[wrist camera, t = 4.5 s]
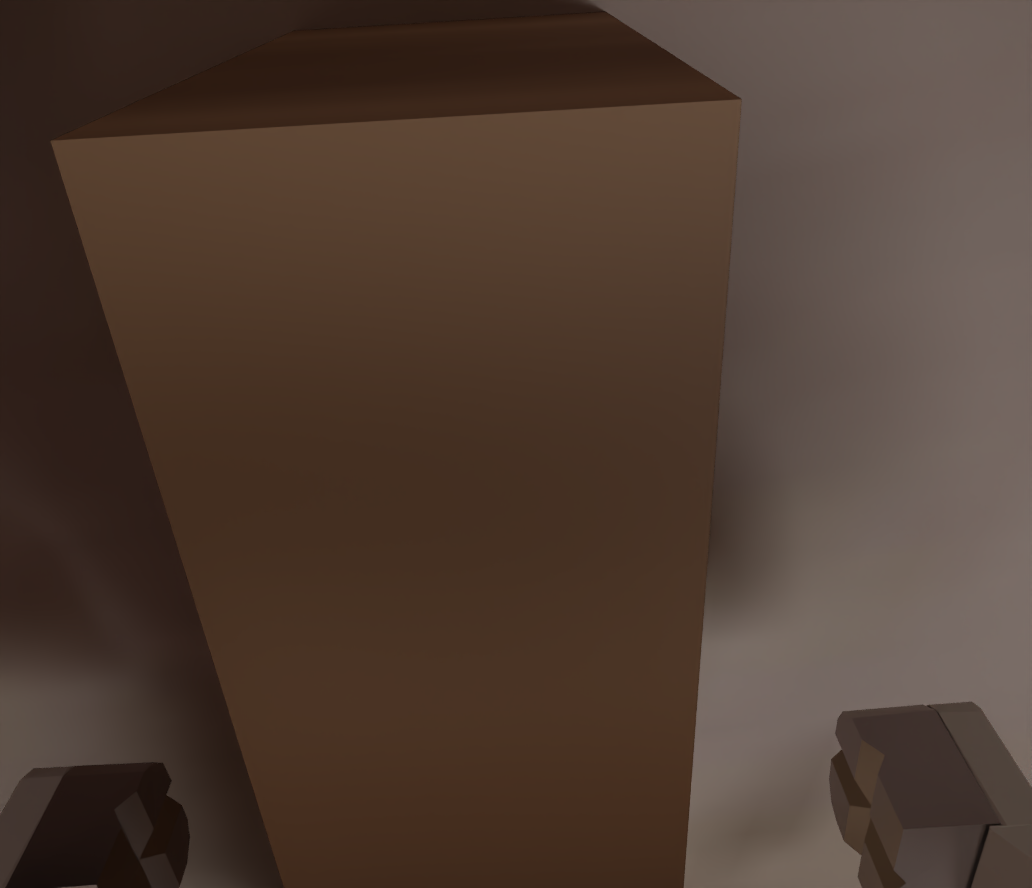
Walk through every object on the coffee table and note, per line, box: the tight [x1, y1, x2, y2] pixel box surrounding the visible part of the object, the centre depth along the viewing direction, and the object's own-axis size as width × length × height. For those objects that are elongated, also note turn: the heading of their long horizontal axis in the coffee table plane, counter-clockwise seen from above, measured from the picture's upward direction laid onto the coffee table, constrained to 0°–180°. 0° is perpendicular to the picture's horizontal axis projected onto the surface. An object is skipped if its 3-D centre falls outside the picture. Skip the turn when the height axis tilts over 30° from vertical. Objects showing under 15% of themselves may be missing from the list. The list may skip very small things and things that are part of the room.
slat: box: [51, 12, 742, 888], centre depth 10 cm, size 16×3×6 cm, turn 3°
